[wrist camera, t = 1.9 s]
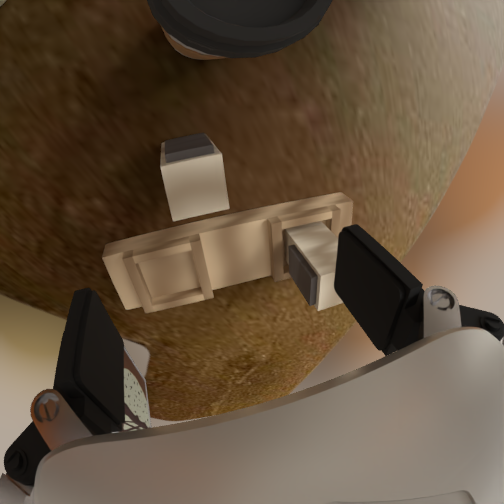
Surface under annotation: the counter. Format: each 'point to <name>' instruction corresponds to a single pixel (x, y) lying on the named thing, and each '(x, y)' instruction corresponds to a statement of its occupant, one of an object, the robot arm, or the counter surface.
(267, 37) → the coffee cup
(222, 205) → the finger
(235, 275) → the rail
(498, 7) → the counter surface
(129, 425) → the food container
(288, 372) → the counter surface
